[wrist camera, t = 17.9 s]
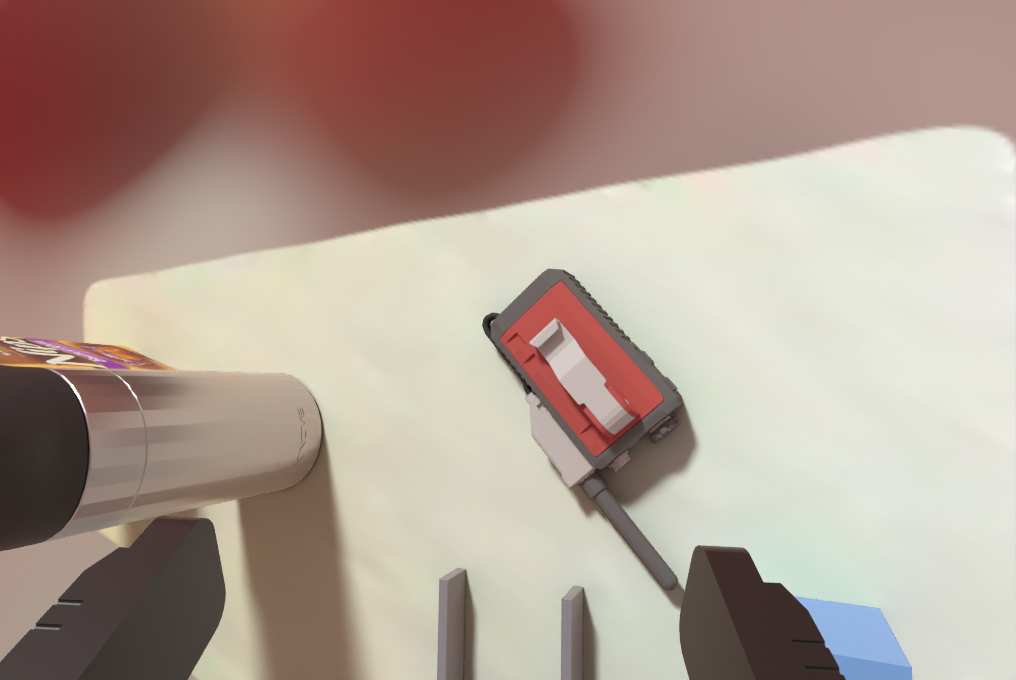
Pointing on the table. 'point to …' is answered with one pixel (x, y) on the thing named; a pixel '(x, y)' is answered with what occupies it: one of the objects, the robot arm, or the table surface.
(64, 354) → the candy box
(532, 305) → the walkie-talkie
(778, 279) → the table surface
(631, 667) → the table surface
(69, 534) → the robot arm
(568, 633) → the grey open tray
